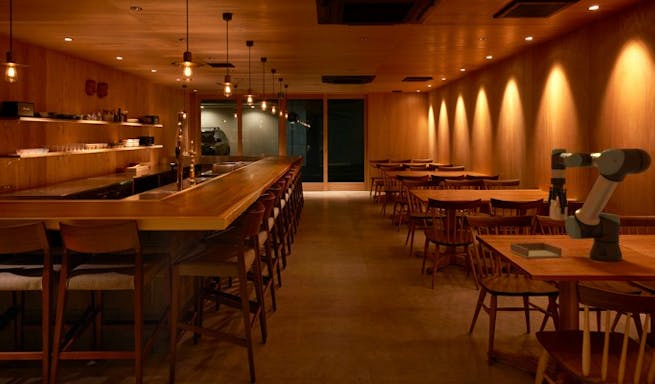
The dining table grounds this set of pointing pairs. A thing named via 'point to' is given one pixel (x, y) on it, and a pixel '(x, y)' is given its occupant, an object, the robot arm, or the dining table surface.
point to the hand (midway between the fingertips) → (556, 218)
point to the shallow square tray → (535, 250)
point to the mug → (557, 210)
